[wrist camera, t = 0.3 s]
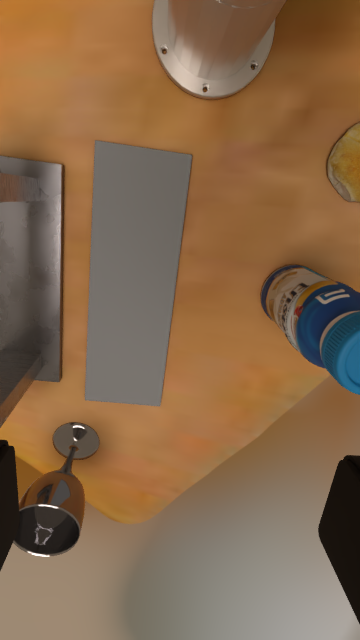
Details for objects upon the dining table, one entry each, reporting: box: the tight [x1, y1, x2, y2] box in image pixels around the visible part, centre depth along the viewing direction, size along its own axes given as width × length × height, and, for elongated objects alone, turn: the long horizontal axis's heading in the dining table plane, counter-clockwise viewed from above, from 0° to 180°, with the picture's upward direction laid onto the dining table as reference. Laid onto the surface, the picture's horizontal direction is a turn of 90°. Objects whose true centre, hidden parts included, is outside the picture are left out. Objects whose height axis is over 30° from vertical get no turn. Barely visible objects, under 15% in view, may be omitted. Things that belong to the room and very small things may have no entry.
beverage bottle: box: [261, 265, 360, 395], centre depth 36 cm, size 8×8×20 cm
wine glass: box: [13, 422, 99, 556], centre depth 45 cm, size 8×8×15 cm
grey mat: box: [85, 140, 192, 406], centre depth 44 cm, size 34×11×1 cm, turn 173°
